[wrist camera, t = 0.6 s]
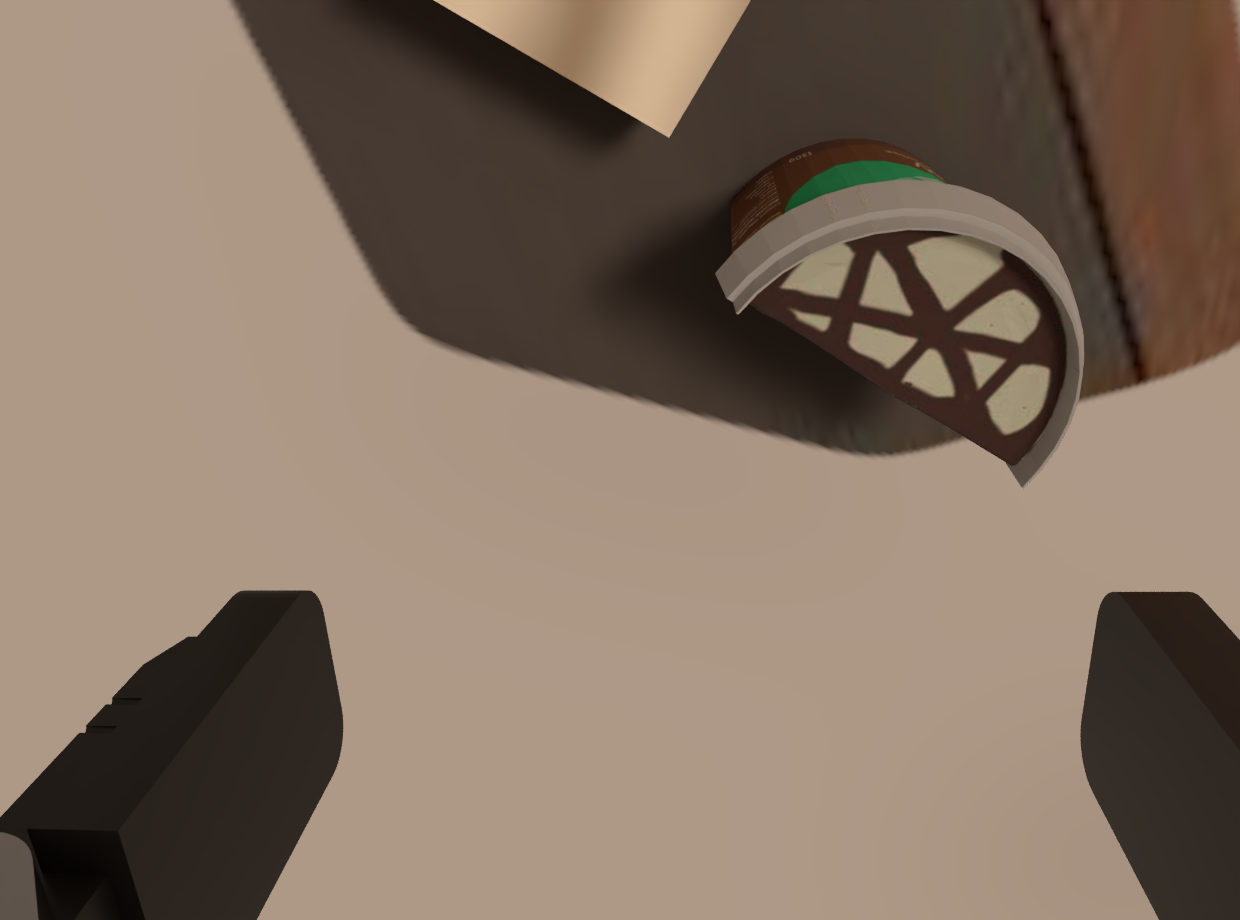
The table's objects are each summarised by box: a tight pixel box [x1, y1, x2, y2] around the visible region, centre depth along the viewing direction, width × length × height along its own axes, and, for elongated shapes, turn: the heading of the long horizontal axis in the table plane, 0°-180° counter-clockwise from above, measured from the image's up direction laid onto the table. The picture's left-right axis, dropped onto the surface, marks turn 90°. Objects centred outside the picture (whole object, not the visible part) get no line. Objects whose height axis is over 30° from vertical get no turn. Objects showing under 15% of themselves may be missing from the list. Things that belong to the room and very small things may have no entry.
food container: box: [715, 139, 1084, 489], centre depth 32 cm, size 12×6×10 cm, turn 57°
